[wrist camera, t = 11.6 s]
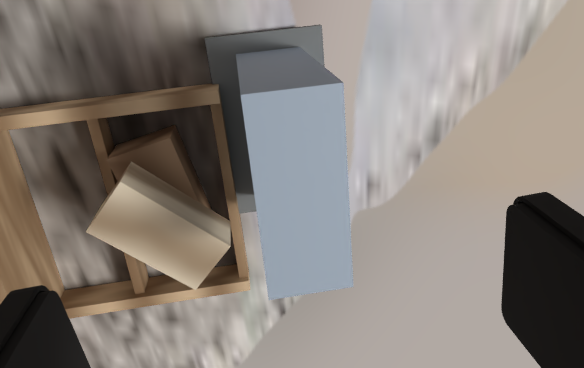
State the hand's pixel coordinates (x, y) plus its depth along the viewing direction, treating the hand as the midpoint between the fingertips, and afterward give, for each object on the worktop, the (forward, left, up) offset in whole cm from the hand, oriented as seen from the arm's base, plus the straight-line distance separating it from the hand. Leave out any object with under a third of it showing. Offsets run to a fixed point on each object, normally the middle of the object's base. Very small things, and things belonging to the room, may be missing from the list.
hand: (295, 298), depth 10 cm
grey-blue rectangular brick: (-2, +5, -29) cm, 30 cm away
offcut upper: (+8, +10, -26) cm, 29 cm away
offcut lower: (+8, +10, -30) cm, 33 cm away
